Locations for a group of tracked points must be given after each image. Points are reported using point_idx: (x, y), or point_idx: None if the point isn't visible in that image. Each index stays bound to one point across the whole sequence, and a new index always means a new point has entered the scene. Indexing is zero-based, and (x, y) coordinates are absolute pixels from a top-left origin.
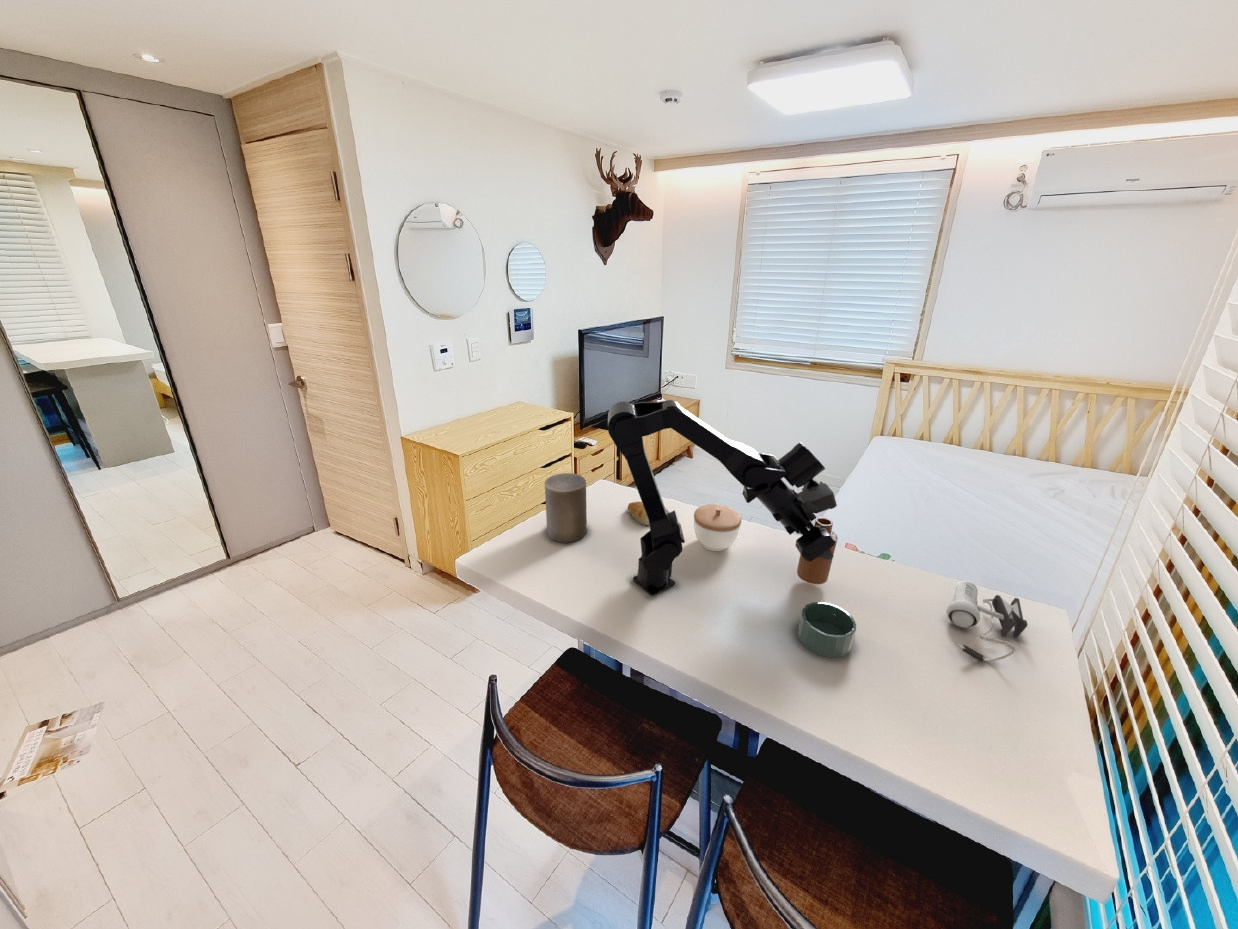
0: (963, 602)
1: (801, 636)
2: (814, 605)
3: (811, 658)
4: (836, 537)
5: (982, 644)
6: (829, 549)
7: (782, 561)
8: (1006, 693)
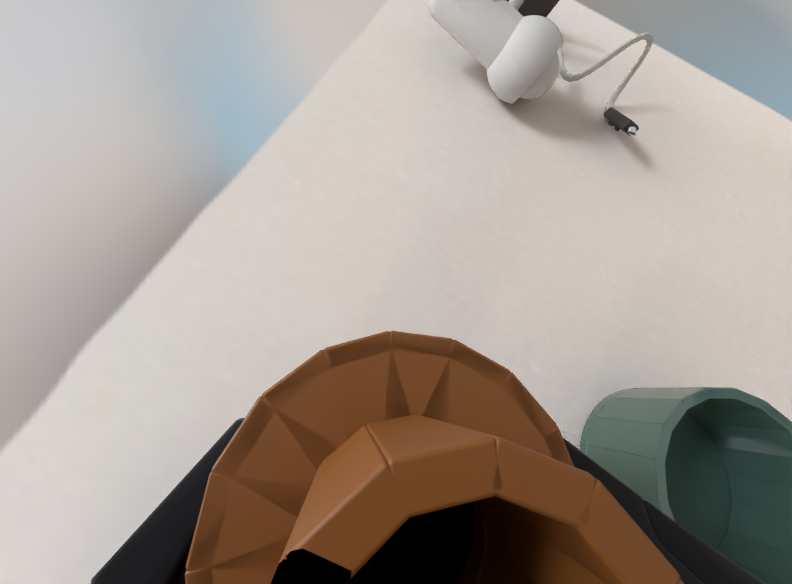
0: (540, 29)
1: None
2: None
3: None
4: (454, 351)
5: (558, 89)
6: (620, 481)
7: None
8: (679, 128)
